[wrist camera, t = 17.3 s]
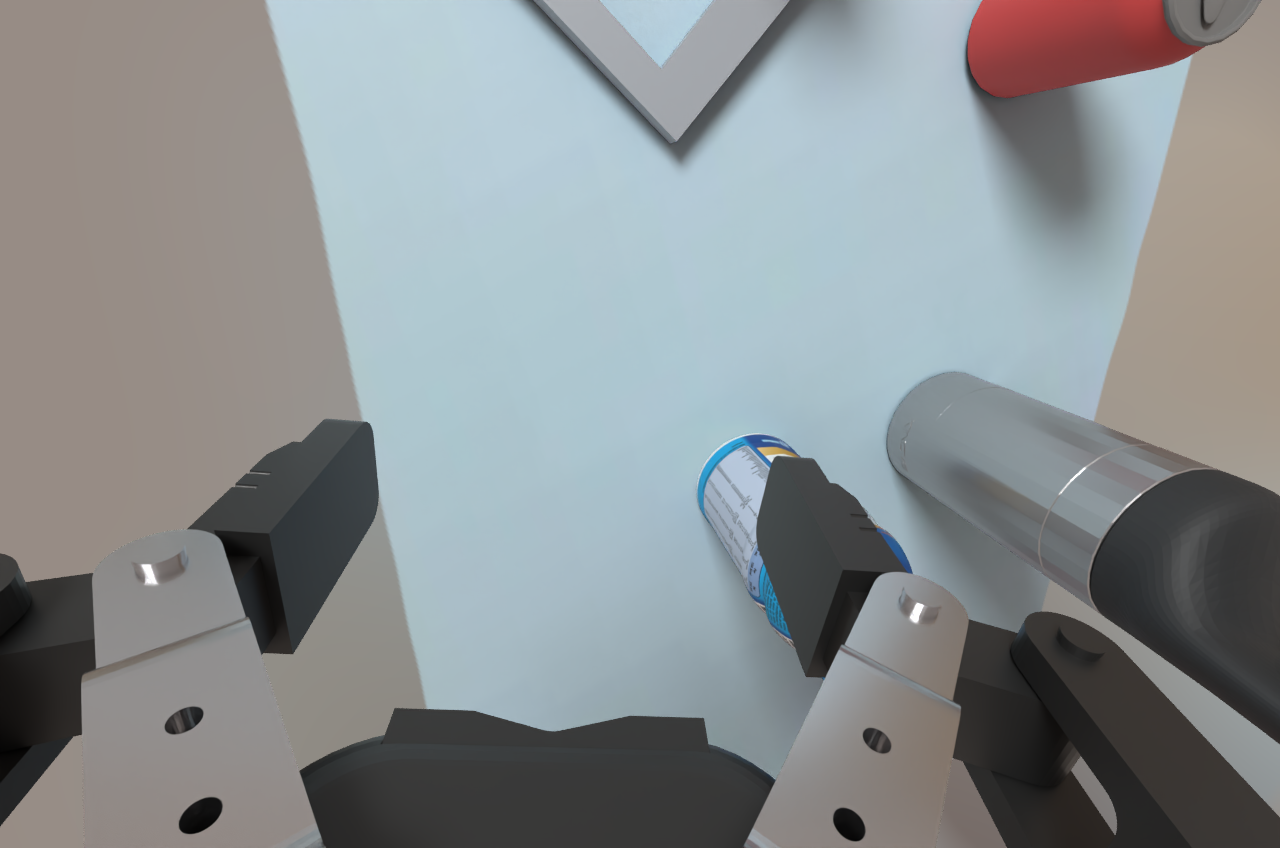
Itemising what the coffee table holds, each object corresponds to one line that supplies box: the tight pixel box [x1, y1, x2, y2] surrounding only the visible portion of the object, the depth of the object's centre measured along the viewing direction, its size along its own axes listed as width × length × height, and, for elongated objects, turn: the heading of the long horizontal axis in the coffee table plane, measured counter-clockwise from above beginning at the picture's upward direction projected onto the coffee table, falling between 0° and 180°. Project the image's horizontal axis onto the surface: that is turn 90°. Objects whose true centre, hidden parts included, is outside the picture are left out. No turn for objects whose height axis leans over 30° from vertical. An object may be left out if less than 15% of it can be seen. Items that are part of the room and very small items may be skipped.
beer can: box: [968, 0, 1261, 98], centre depth 31 cm, size 7×7×12 cm
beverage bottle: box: [697, 433, 913, 680], centre depth 34 cm, size 8×8×20 cm
